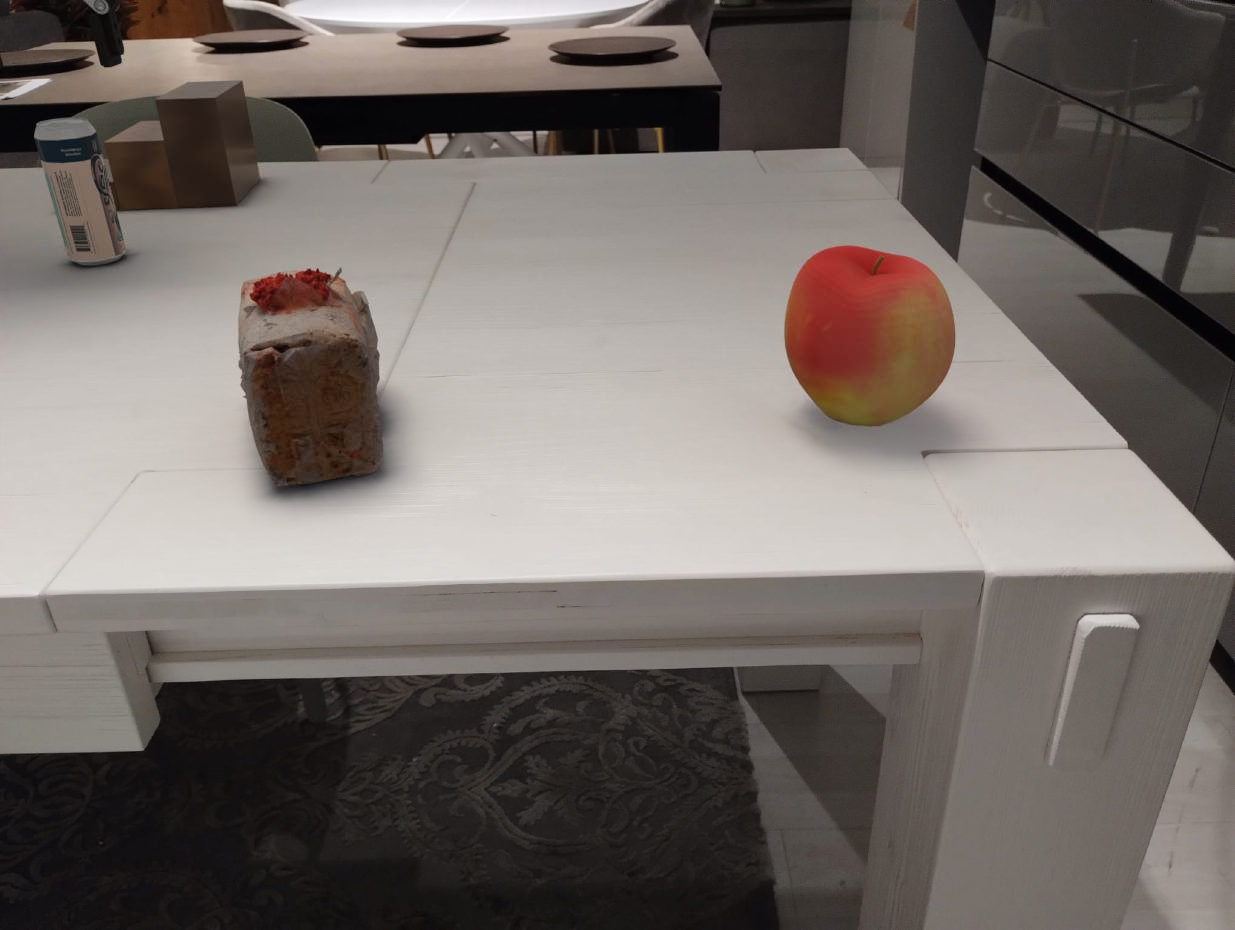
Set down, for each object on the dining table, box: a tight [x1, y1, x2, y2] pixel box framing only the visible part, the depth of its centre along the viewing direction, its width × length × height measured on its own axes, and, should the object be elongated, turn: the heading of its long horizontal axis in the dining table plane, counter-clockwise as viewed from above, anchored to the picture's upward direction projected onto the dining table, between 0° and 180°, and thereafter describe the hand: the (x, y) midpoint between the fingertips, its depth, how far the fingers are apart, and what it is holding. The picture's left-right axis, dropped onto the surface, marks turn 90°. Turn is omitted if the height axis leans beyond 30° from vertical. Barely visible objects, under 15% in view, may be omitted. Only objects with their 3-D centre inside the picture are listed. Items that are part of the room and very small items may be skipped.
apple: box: [783, 244, 957, 428], centre depth 59 cm, size 10×10×10 cm
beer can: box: [33, 117, 127, 266], centre depth 89 cm, size 5×5×12 cm
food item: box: [237, 267, 384, 487], centre depth 58 cm, size 14×8×10 cm, turn 20°
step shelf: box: [103, 79, 261, 211], centre depth 110 cm, size 18×12×11 cm, turn 95°
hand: (52, 68), depth 84 cm, fingers open, 9 cm apart
